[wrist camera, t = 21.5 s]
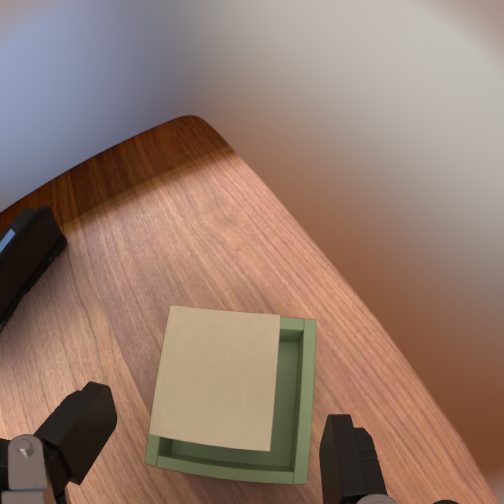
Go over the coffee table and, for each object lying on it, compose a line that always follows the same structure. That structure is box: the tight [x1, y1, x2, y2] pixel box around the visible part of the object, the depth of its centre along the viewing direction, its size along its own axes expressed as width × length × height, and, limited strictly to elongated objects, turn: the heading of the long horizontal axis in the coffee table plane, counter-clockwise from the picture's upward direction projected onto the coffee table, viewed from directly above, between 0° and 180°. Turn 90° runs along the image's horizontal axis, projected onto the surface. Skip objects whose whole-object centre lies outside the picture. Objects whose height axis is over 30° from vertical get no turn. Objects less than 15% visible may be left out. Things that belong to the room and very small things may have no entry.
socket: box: [145, 310, 316, 484], centre depth 19 cm, size 10×11×4 cm
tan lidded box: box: [149, 305, 281, 451], centre depth 16 cm, size 5×6×9 cm
